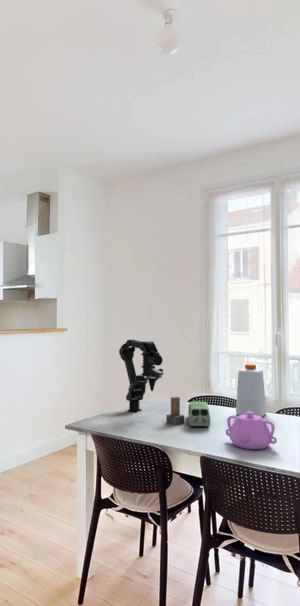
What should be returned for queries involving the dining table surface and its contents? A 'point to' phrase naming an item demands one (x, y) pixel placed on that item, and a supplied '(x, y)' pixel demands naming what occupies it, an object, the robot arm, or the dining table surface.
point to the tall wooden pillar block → (175, 412)
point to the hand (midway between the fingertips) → (148, 392)
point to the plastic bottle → (250, 391)
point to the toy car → (199, 414)
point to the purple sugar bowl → (250, 431)
